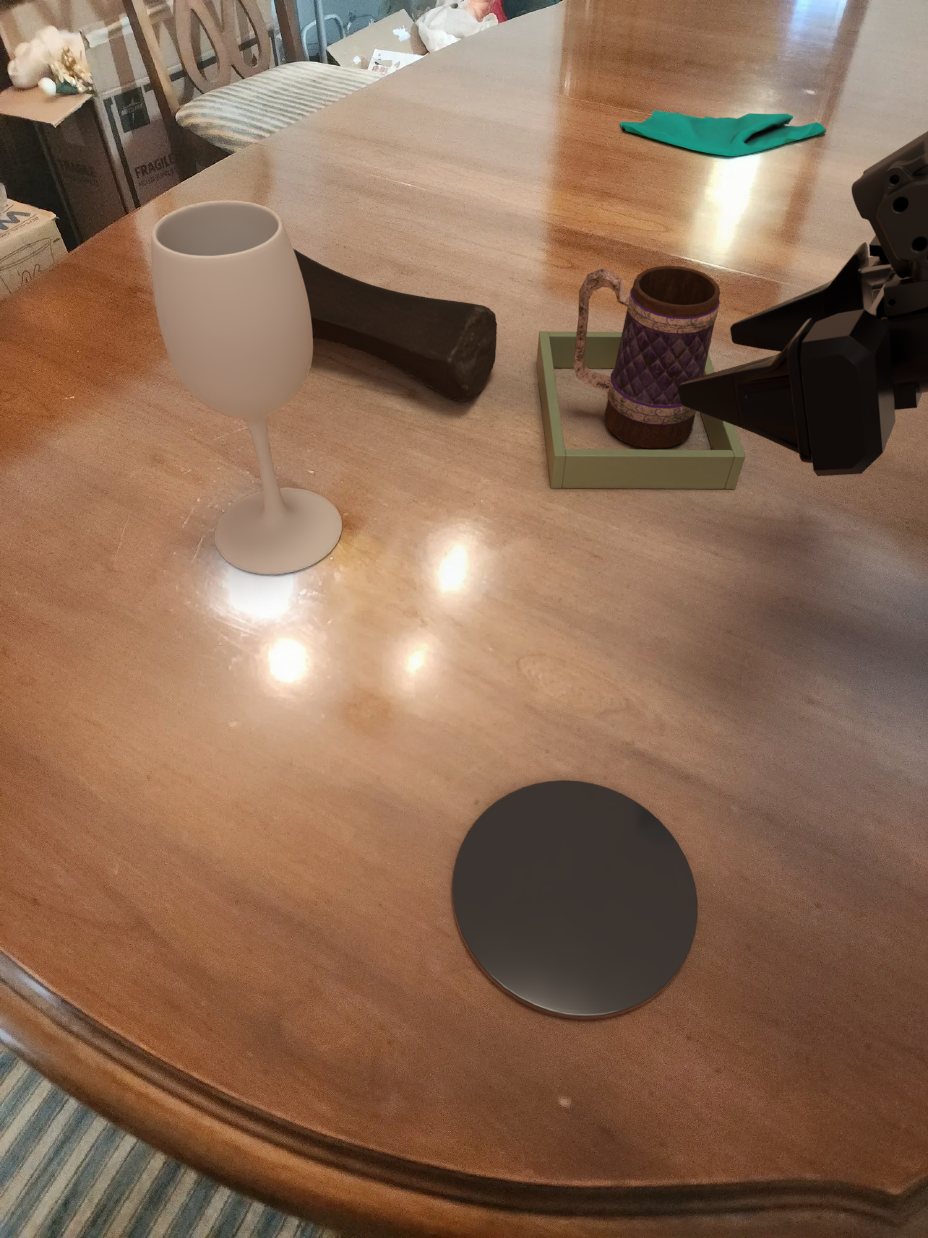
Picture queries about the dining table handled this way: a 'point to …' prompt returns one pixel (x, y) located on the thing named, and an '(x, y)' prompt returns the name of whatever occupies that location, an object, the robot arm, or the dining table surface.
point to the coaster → (574, 900)
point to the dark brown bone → (404, 329)
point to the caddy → (624, 464)
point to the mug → (652, 351)
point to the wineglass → (243, 361)
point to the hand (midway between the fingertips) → (707, 362)
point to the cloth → (722, 132)
